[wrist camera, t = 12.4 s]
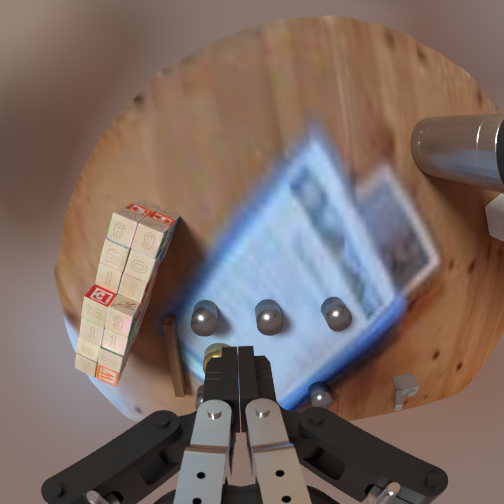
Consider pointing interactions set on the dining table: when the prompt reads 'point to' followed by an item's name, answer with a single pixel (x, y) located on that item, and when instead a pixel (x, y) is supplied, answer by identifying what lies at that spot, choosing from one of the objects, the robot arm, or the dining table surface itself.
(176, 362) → the bar
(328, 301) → the spacers
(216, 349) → the gold short domed cylinder
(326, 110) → the dining table surface
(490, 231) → the small box
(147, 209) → the stack of blocks
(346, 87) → the dining table surface
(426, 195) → the dining table surface
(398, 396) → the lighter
